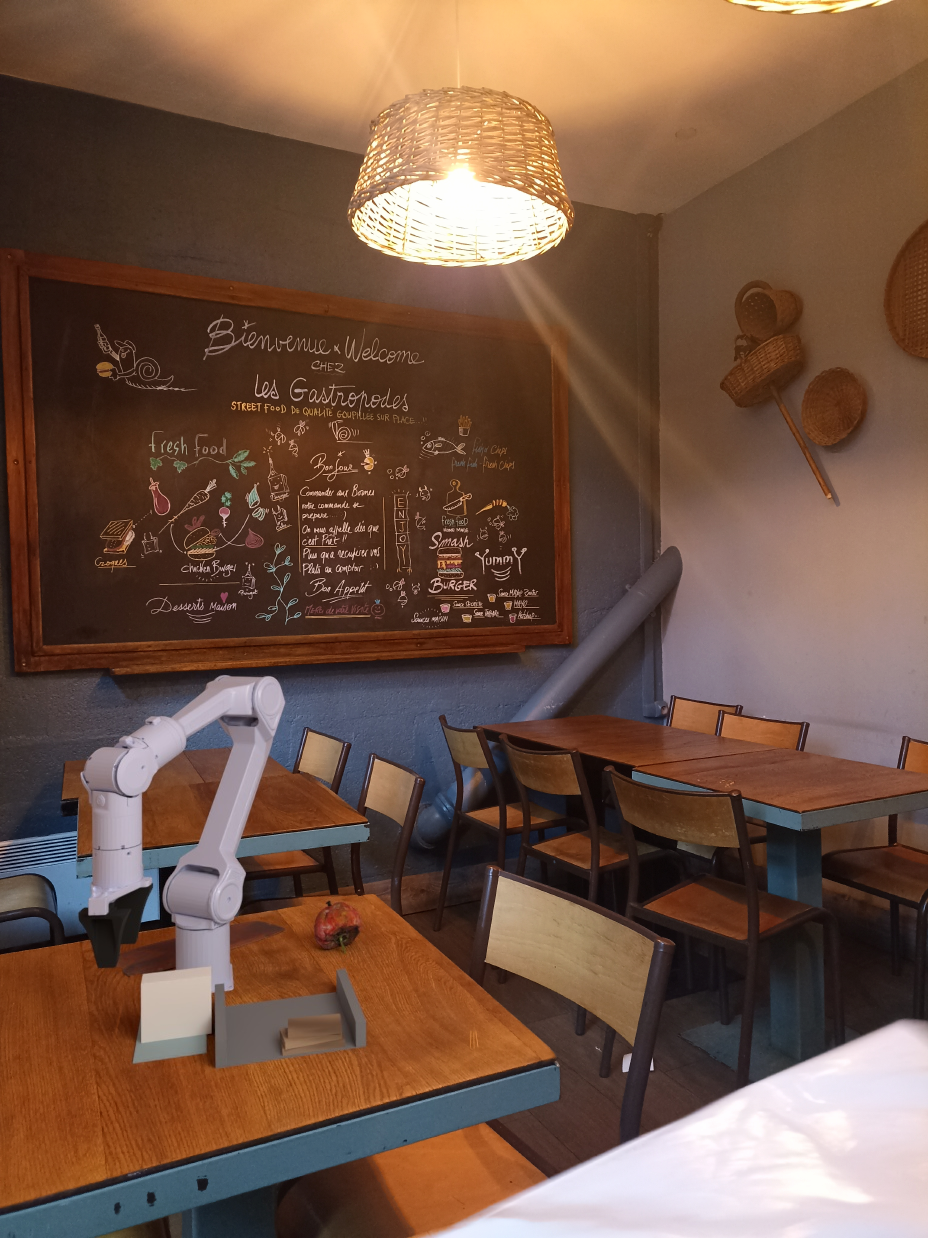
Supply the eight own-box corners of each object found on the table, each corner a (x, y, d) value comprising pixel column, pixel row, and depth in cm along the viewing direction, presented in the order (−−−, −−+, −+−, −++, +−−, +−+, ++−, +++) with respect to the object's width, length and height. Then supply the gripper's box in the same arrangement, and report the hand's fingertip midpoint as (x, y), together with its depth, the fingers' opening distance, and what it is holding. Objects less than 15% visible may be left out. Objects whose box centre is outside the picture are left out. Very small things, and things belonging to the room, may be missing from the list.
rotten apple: (368, 964, 132) (355, 909, 140) (368, 937, 128) (355, 882, 135) (320, 975, 130) (310, 919, 138) (319, 948, 126) (308, 891, 133)
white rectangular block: (143, 1031, 104) (142, 974, 105) (211, 1022, 107) (211, 966, 107) (141, 1043, 102) (141, 984, 102) (211, 1033, 104) (211, 975, 104)
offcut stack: (279, 1040, 102) (279, 1020, 102) (340, 1031, 104) (339, 1011, 104) (282, 1057, 98) (282, 1036, 98) (345, 1048, 100) (345, 1027, 100)
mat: (140, 1021, 109) (140, 1016, 109) (206, 1012, 111) (206, 1008, 111) (132, 1067, 97) (132, 1062, 97) (206, 1057, 99) (206, 1052, 99)
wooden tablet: (134, 985, 121) (134, 973, 121) (104, 966, 128) (104, 955, 128) (292, 935, 140) (292, 925, 140) (259, 921, 147) (259, 911, 147)
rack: (214, 1011, 111) (214, 984, 111) (345, 994, 116) (345, 968, 116) (215, 1073, 96) (215, 1041, 96) (366, 1050, 101) (365, 1020, 101)
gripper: (132, 859, 99) (132, 977, 99) (166, 830, 114) (166, 932, 114) (69, 861, 99) (69, 979, 99) (111, 831, 113) (112, 934, 113)
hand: (117, 954), depth 106 cm, fingers open, 7 cm apart
